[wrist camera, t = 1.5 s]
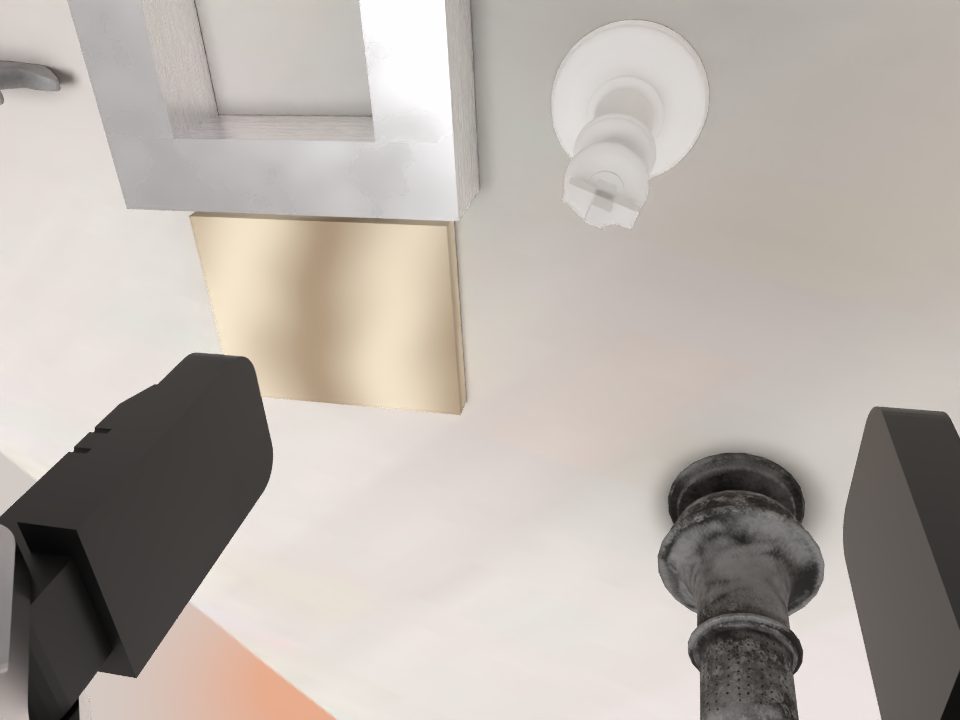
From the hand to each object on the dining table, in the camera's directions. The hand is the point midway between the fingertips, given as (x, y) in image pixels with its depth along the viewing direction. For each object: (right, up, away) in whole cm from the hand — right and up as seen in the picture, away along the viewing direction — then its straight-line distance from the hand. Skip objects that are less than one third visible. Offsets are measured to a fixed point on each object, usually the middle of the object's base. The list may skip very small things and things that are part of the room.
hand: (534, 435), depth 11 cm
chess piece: (+4, +9, +15) cm, 18 cm away
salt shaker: (+10, -5, +22) cm, 25 cm away
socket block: (-7, +13, +16) cm, 21 cm away
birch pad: (-6, +3, +21) cm, 23 cm away
